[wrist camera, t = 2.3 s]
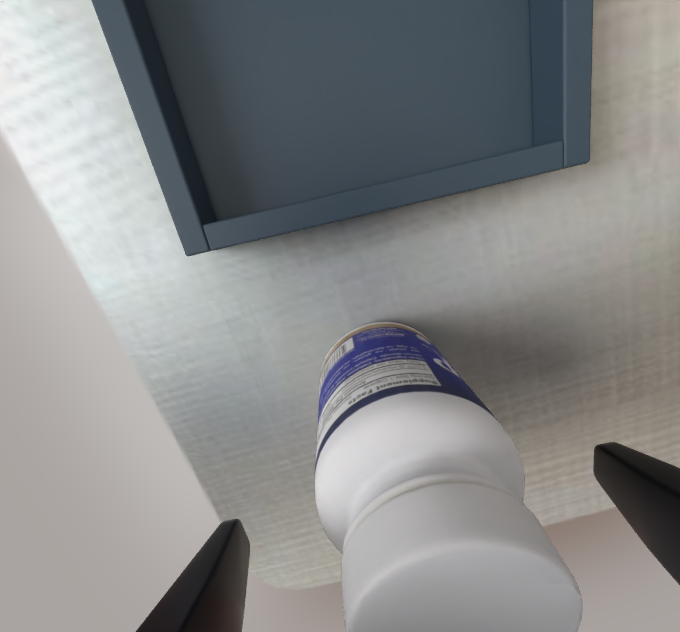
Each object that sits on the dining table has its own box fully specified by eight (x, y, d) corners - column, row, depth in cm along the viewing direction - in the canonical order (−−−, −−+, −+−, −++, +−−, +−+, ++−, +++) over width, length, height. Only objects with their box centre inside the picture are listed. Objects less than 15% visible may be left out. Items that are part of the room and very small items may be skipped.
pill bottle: (454, 403, 14) (640, 679, 6) (346, 442, 15) (372, 752, 6) (419, 298, 13) (604, 463, 4) (299, 345, 13) (248, 581, 5)
